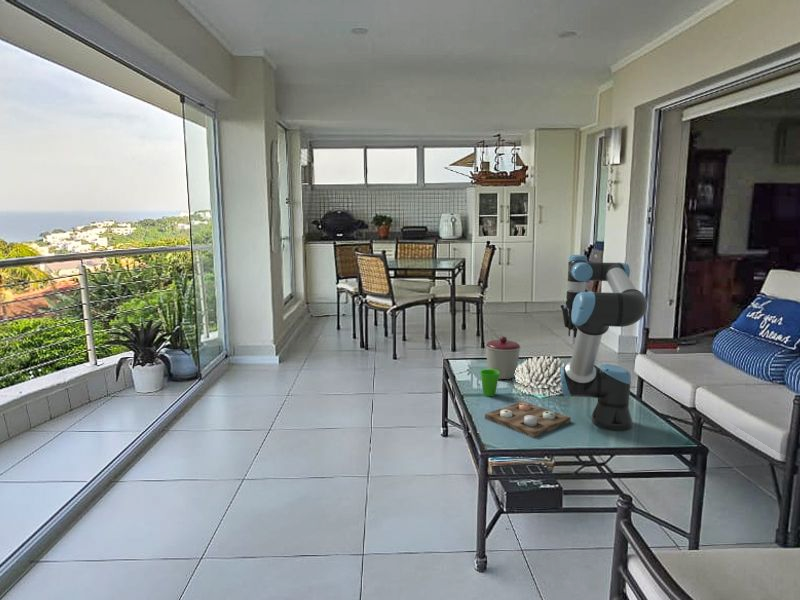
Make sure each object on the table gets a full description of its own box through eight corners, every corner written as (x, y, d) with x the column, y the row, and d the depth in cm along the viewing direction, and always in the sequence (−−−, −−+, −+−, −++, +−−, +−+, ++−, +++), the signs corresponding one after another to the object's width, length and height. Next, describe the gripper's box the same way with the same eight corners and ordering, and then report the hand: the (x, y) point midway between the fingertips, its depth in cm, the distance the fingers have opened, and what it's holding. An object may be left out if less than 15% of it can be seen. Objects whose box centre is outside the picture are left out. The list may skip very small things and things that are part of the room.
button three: (532, 412, 228) (533, 404, 228) (525, 414, 225) (525, 407, 225) (523, 408, 232) (523, 401, 231) (516, 411, 229) (516, 404, 228)
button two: (557, 420, 219) (557, 413, 218) (550, 423, 216) (550, 416, 215) (547, 417, 223) (547, 409, 222) (540, 420, 220) (540, 412, 219)
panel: (570, 422, 218) (570, 417, 218) (533, 437, 203) (533, 432, 203) (522, 405, 237) (522, 401, 236) (484, 418, 222) (485, 413, 221)
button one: (514, 419, 221) (514, 411, 220) (506, 421, 218) (507, 414, 217) (505, 415, 224) (505, 408, 224) (497, 418, 221) (497, 410, 221)
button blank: (539, 425, 211) (539, 417, 211) (531, 428, 208) (531, 420, 208) (529, 421, 215) (529, 414, 214) (521, 424, 212) (521, 417, 211)
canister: (479, 372, 284) (480, 333, 280) (511, 370, 287) (513, 331, 284) (490, 383, 266) (492, 341, 263) (525, 381, 270) (527, 340, 266)
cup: (500, 398, 245) (501, 375, 243) (480, 398, 245) (481, 374, 244) (497, 391, 254) (498, 369, 252) (478, 391, 254) (478, 368, 253)
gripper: (594, 291, 232) (590, 345, 236) (567, 288, 241) (564, 340, 245) (585, 293, 227) (581, 348, 231) (557, 289, 236) (554, 342, 240)
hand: (572, 344), depth 238 cm, fingers closed
